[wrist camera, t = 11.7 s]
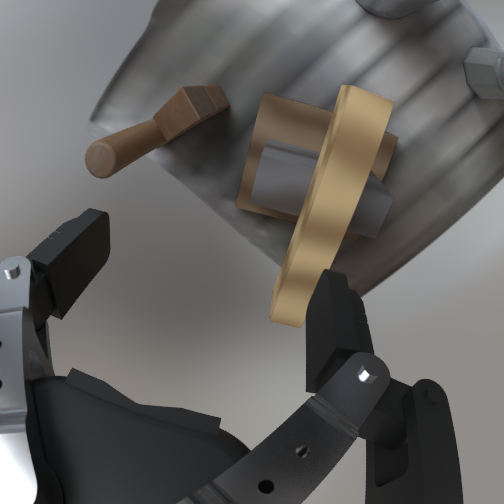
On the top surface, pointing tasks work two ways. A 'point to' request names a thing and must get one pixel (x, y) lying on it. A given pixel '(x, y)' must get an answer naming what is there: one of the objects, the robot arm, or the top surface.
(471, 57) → the coffee maker
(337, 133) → the oak bar
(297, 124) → the ridge stand
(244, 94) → the top surface
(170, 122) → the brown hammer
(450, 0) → the top surface
